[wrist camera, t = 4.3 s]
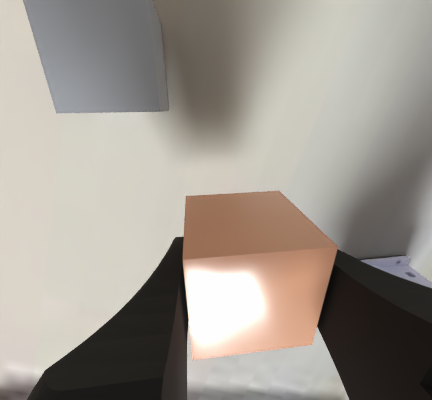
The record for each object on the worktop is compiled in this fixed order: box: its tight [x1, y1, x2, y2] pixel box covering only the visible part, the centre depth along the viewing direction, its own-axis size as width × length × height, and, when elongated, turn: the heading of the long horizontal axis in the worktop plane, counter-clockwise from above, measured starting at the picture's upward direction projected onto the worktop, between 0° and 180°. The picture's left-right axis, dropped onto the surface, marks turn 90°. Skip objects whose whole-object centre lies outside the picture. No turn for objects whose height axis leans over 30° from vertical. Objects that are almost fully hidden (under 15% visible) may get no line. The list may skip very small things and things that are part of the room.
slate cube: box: [23, 0, 169, 113], centre depth 12 cm, size 5×5×5 cm
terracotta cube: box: [183, 191, 338, 360], centre depth 10 cm, size 5×5×5 cm
